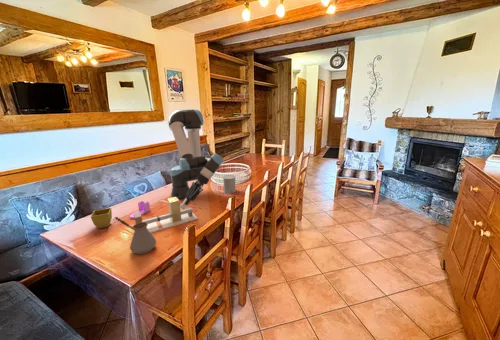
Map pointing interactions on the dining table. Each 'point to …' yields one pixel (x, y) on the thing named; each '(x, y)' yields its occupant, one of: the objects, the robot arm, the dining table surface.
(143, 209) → the bracket
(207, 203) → the dining table surface
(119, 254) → the dining table surface
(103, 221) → the flower pot
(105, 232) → the dining table surface
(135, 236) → the coffee pot
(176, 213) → the tan rectangular block
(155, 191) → the dining table surface
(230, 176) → the gray cylinder
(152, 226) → the rod gauge
